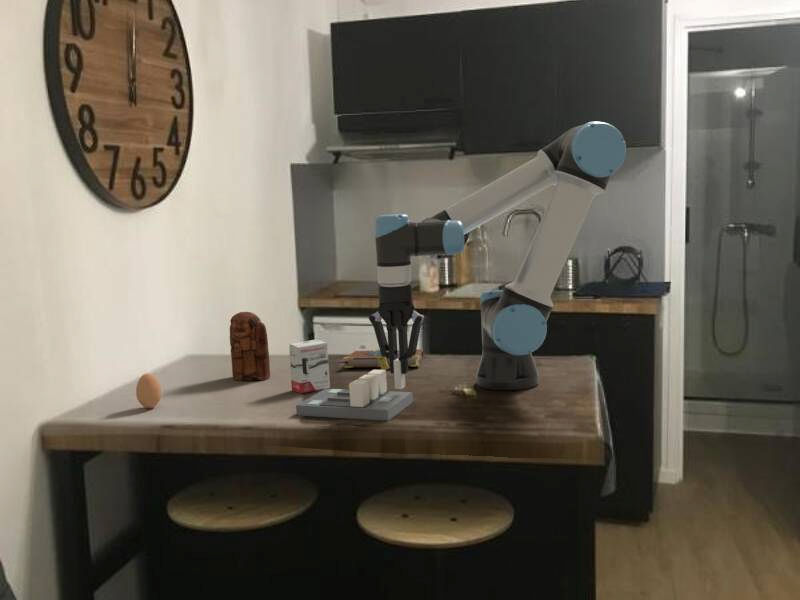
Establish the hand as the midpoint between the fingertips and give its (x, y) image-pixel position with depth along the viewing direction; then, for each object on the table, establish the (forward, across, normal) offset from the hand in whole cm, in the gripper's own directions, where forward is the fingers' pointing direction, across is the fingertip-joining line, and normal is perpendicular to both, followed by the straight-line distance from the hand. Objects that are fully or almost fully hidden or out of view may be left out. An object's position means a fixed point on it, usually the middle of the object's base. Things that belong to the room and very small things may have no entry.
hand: (400, 387), depth 191 cm
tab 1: (+2, +6, +10) cm, 11 cm away
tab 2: (+2, +6, +5) cm, 8 cm away
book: (+5, +22, -39) cm, 45 cm away
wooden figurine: (+4, +50, -18) cm, 53 cm away
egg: (+5, +59, +13) cm, 61 cm away
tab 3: (+2, +6, 0) cm, 6 cm away
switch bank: (+4, +9, +5) cm, 11 cm away
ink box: (+4, +28, -10) cm, 30 cm away
